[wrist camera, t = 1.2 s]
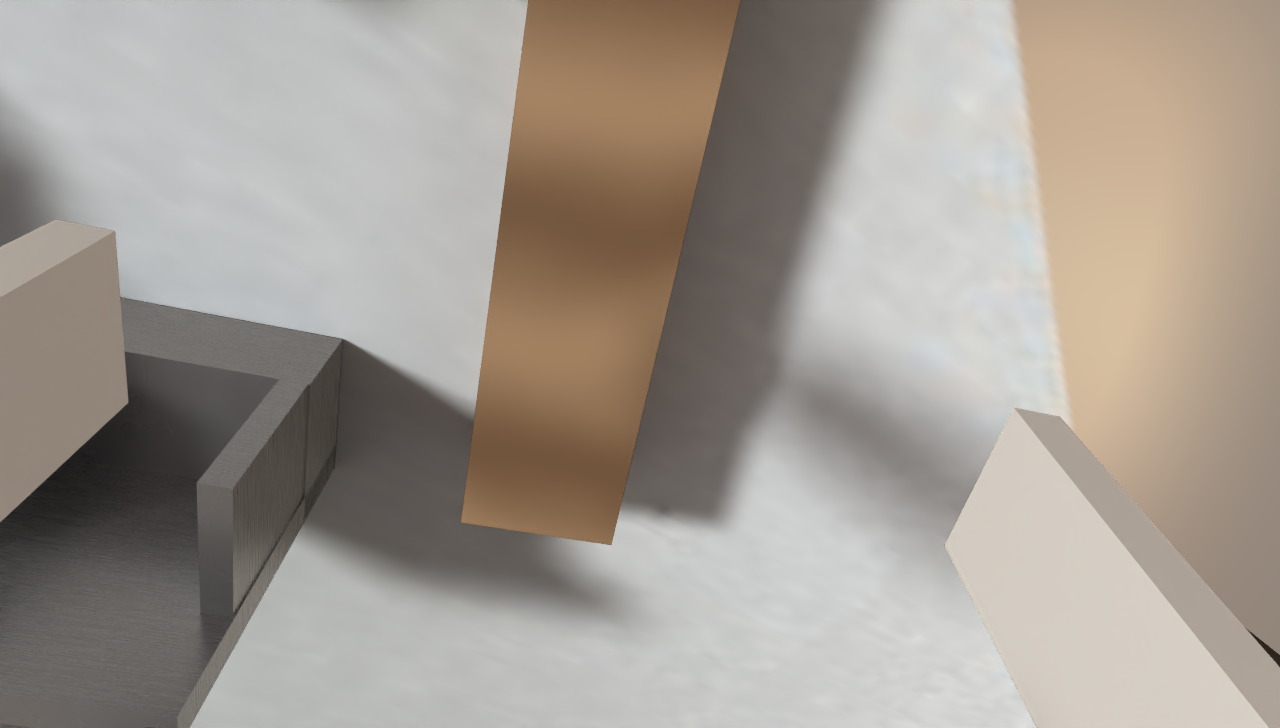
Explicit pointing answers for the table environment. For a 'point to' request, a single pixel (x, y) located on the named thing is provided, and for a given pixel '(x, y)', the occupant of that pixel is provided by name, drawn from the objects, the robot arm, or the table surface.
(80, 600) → the bracket
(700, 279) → the table surface
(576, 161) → the rail
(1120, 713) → the robot arm
